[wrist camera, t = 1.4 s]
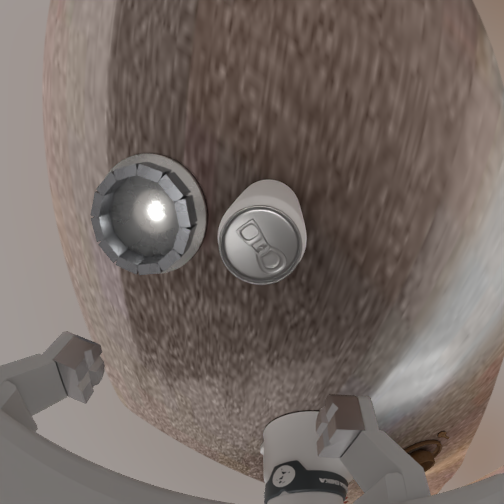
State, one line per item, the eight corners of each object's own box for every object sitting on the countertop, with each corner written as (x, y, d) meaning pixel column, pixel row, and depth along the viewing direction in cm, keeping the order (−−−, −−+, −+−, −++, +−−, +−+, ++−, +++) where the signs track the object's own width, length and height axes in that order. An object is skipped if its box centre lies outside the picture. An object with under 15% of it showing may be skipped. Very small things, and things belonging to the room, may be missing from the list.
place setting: (394, 474, 50) (397, 493, 44) (348, 456, 46) (351, 479, 41) (455, 437, 44) (463, 456, 38) (422, 412, 41) (431, 436, 35)
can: (262, 249, 33) (249, 306, 21) (225, 202, 31) (193, 235, 20) (311, 217, 31) (327, 259, 20) (276, 166, 29) (271, 178, 18)
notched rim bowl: (233, 224, 32) (228, 233, 29) (150, 291, 36) (140, 303, 33) (153, 127, 29) (139, 126, 26) (82, 207, 33) (67, 214, 30)
